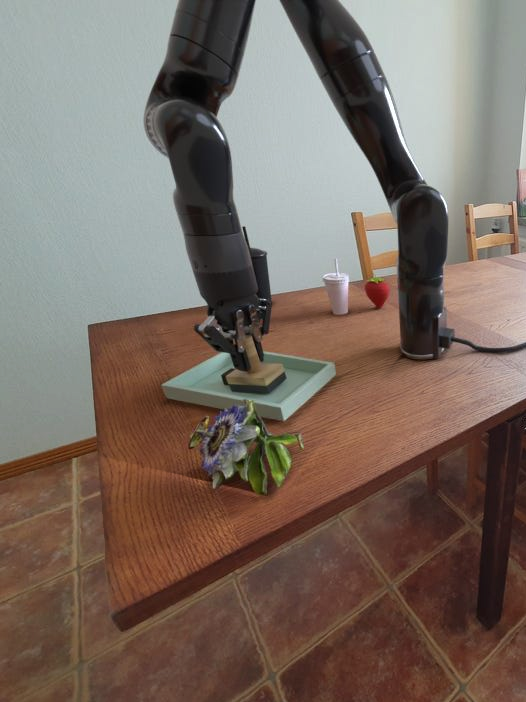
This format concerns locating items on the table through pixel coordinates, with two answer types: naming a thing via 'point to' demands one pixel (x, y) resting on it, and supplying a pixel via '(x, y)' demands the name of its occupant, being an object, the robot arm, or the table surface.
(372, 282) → the strawberry
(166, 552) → the table surface
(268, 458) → the passion flower
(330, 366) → the tray
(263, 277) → the drinking cup
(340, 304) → the smoothie
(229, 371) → the crumb
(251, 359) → the brush
